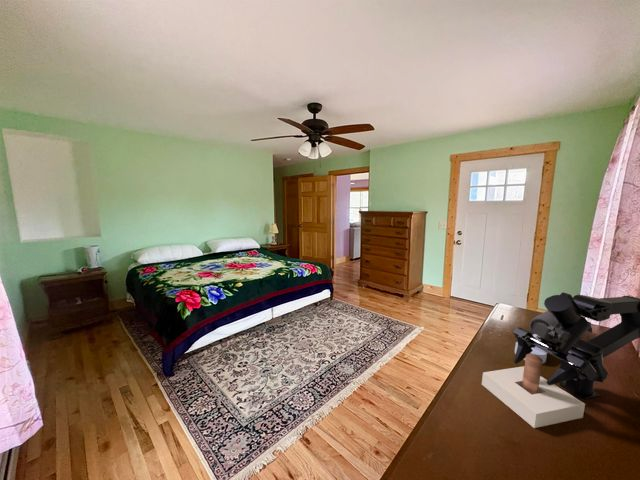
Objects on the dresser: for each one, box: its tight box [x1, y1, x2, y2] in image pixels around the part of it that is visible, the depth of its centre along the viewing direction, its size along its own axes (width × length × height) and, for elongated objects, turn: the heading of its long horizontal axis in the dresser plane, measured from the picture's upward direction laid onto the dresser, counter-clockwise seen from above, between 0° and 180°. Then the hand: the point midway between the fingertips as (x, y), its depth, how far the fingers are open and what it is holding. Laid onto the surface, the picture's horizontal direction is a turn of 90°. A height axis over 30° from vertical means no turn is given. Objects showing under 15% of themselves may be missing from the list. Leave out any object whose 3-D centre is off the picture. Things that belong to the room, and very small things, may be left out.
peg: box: [522, 354, 543, 394], centre depth 73 cm, size 4×4×13 cm
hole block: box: [481, 365, 586, 429], centre depth 73 cm, size 16×16×4 cm
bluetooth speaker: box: [528, 310, 558, 331], centre depth 111 cm, size 23×9×10 cm, turn 120°
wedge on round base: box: [514, 333, 548, 365], centre depth 96 cm, size 9×7×13 cm
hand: (530, 372), depth 72 cm, fingers open, 9 cm apart
